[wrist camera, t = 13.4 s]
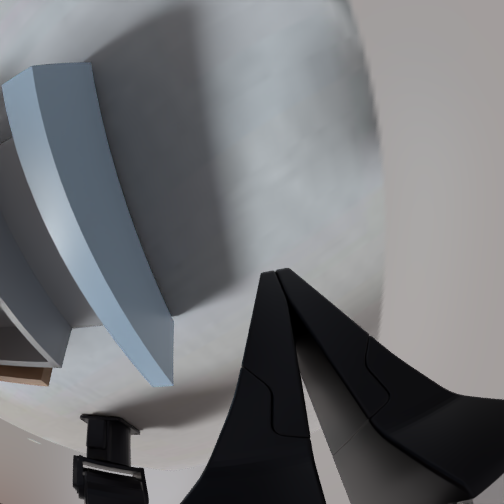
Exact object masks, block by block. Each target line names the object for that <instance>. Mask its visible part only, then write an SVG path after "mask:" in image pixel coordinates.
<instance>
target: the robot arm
mask: <svg viewBox="0 0 504 504" xmlns="http://www.w3.org/2000/svg"><path fill="white" fill-rule="evenodd" d="M300 373H301V375H300ZM301 376H302V379H303V381H304V384H305V386H306V389H307V392H308V394H309V397H310V399H311V402H312V404H313V407H314V410H315V412H316V415H317V417H318V420H319V422H320V425H321V428H322V430H323V433H324V435H325V438H326V441H327V443H328V446H329V448H330V451H331V453H332V455H333V459H334V461H335V464H336V467H337V469H338V472H339V474H340V477H341V480H342V482H343V485H344V487H345V490H346V492H347V495H348V497H349V500H350V503H351V504H504V400H502V399H491V398H481V397H472V396H464V395H460V394H456V393H454V392H451V391H449V390H447V389H445V388H443V387H441V386H440V385H438V384H437V383H435V382H434V381H432V380H431V379H429V378H428V377H426V376H425V375H423V374H422V373H420V372H419V371H417V370H416V369H414V368H413V367H411V366H410V365H408V364H406V363H405V362H404V361H402V360H401V359H400V358H398V357H397V356H395V355H394V354H393V353H391V352H390V351H389V350H388V349H386V348H385V347H384V346H383V345H381V344H380V343H379V342H378V341H376V340H375V339H374V338H373V337H372V336H369V334H368V333H367V332H366V331H364V330H363V329H362V328H361V327H360V326H358V325H357V324H356V323H355V322H354V321H353V320H351V319H350V318H349V317H348V316H347V315H345V314H344V313H343V312H342V311H341V310H339V309H338V308H337V307H336V306H335V305H333V304H332V303H331V302H330V301H328V300H327V299H326V298H325V297H324V296H322V295H321V294H320V293H319V292H318V291H316V290H315V289H314V288H313V287H312V286H310V285H309V284H308V283H307V282H306V281H304V280H303V279H302V278H301V277H299V276H298V275H297V274H296V273H295V272H293V271H292V270H291V269H289V268H284V269H278V270H276V271H268V272H263V273H261V275H260V280H259V285H258V289H257V294H256V299H255V304H254V309H253V314H252V318H251V323H250V328H249V333H248V338H247V342H246V347H245V352H244V356H243V361H242V367H241V369H240V374H239V379H238V383H237V386H236V390H235V394H234V398H233V401H232V404H231V407H230V409H229V412H228V415H227V418H226V420H225V423H224V425H223V428H222V430H221V433H220V435H219V438H218V440H217V443H216V445H215V448H214V450H213V452H212V455H211V457H210V459H209V461H208V464H207V466H206V468H205V470H204V471H203V473H202V475H201V477H200V478H199V480H198V481H197V482H196V484H195V485H194V486H193V488H192V489H191V490H190V492H189V493H188V494H187V496H186V497H185V498H184V500H183V501H182V502H181V503H180V504H326V501H325V498H324V494H323V490H322V487H321V484H320V480H319V476H318V472H317V469H316V465H315V461H314V456H313V451H312V445H311V440H310V431H309V425H308V418H307V412H306V406H305V399H304V393H303V387H302V381H301ZM80 419H81V420H83V421H84V422H86V423H87V424H88V427H87V441H86V446H87V458H86V457H83V456H81V455H79V456H75V455H74V459H73V487H74V488H75V489H76V490H77V493H78V494H79V498H80V499H84V504H148V503H149V498H148V491H147V486H146V480H145V474H144V469H143V468H135V467H131V450H130V437H131V435H140V431H138V430H137V429H135V428H134V427H132V426H131V425H130V424H128V423H127V422H125V421H124V420H122V419H121V418H118V417H97V416H83V415H81V416H80ZM83 465H87V466H91V467H95V468H100V469H105V470H109V471H115V472H120V473H126V474H132V475H133V477H131V476H124V475H119V474H113V473H108V472H103V471H99V470H94V469H90V468H84V467H83ZM0 504H1V503H0Z"/></svg>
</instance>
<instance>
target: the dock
mask: <svg viewBox="0 0 504 504" xmlns="http://www.w3.org/2000/svg"><path fill="white" fill-rule="evenodd" d="M51 372H52V368H49V367H25V366H10V365H0V381H5V382H12V383H20V384H29V385H38V386H49V381H50V377H51Z"/></svg>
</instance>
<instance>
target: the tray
mask: <svg viewBox="0 0 504 504" xmlns="http://www.w3.org/2000/svg"><path fill="white" fill-rule="evenodd" d="M1 86H2V91H3V97H4V102H5V107H6V112H7V116H8V120H9V124H10V128H11V132H12V136H13V137H12V138H10V139H8V140H7V141H5V142H3V143H2V144H0V365H10V366H25V367H49V368H62V364H63V360H64V356H65V352H66V348H67V344H68V340H69V337H70V333H71V330H72V328H80V327H91V326H101V325H104V326H105V328H106V329H107V330H108V332H109V333H110V335H111V336H112V337H113V339H114V340H115V341H116V343H117V344H118V345H119V347H120V348H121V349H122V351H123V352H124V353H125V354H126V356H127V357H128V358H129V360H130V361H131V362H132V363H133V364H134V366H135V367H136V368H137V369H138V371H139V372H140V373H141V374H142V375H143V376H144V378H145V379H146V380H147V381H148V382H149V383H150V385H151V386H152V387H163V386H173V335H174V321H173V319H172V317H171V315H170V313H169V311H168V308H167V306H166V304H165V302H164V299H163V297H162V295H161V293H160V290H159V288H158V286H157V283H156V281H155V279H154V276H153V274H152V271H151V269H150V267H149V264H148V262H147V259H146V257H145V254H144V252H143V249H142V246H141V244H140V241H139V238H138V236H137V233H136V230H135V228H134V225H133V222H132V219H131V216H130V213H129V210H128V208H127V205H126V202H125V199H124V195H123V192H122V189H121V186H120V183H119V180H118V176H117V173H116V170H115V166H114V163H113V159H112V156H111V152H110V148H109V145H108V141H107V137H106V133H105V129H104V125H103V121H102V116H101V112H100V108H99V103H98V98H97V93H96V88H95V83H94V77H93V72H92V66H91V62H80V63H58V64H46V65H36V66H31V67H29V68H28V69H26V70H24V71H23V72H21V73H19V74H18V75H16V76H15V77H13V78H11V79H10V80H8V81H7V82H6V83H4V84H3V85H1Z"/></svg>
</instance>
